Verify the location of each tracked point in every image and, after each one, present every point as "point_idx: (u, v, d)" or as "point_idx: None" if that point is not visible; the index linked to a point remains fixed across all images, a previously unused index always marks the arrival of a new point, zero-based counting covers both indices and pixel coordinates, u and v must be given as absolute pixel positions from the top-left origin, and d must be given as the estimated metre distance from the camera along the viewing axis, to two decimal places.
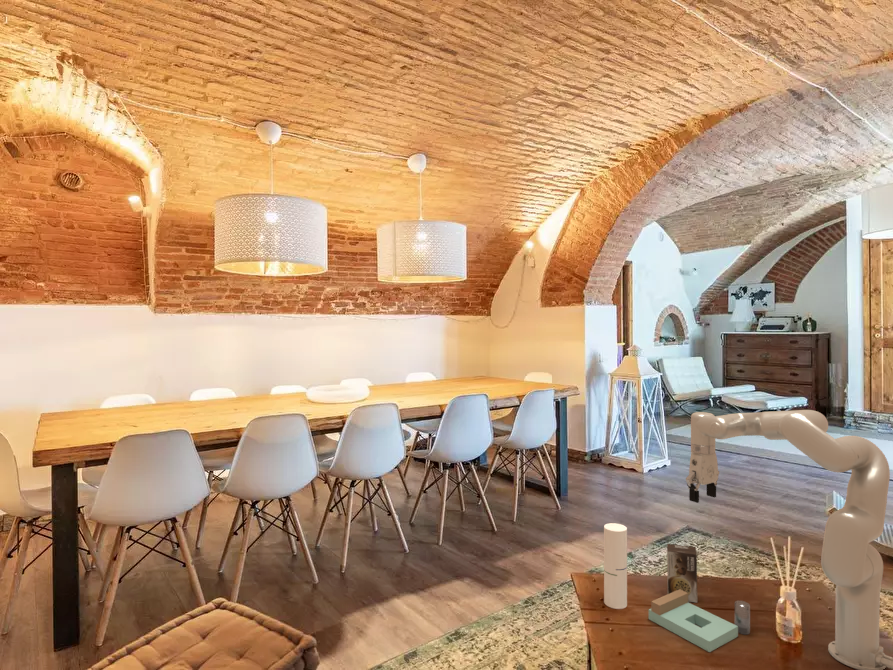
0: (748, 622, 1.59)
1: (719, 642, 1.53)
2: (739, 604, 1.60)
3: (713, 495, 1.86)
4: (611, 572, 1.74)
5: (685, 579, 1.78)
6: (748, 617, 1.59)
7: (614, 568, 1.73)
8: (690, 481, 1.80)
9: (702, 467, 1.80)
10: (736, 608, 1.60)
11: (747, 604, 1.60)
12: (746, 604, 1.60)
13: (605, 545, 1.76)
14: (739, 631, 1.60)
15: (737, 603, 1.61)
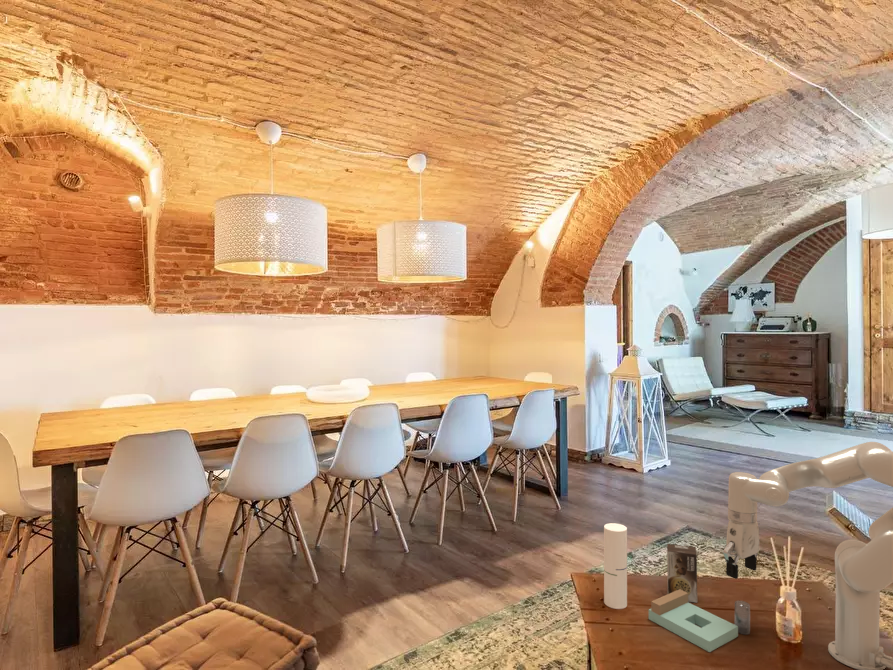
0: (748, 622, 1.59)
1: (719, 642, 1.53)
2: (739, 604, 1.60)
3: (753, 568, 1.62)
4: (611, 572, 1.74)
5: (685, 579, 1.78)
6: (748, 617, 1.59)
7: (614, 568, 1.73)
8: (728, 554, 1.56)
9: (742, 538, 1.56)
10: (736, 608, 1.60)
11: (747, 604, 1.60)
12: (746, 604, 1.60)
13: (605, 545, 1.76)
14: (739, 631, 1.60)
15: (737, 603, 1.61)
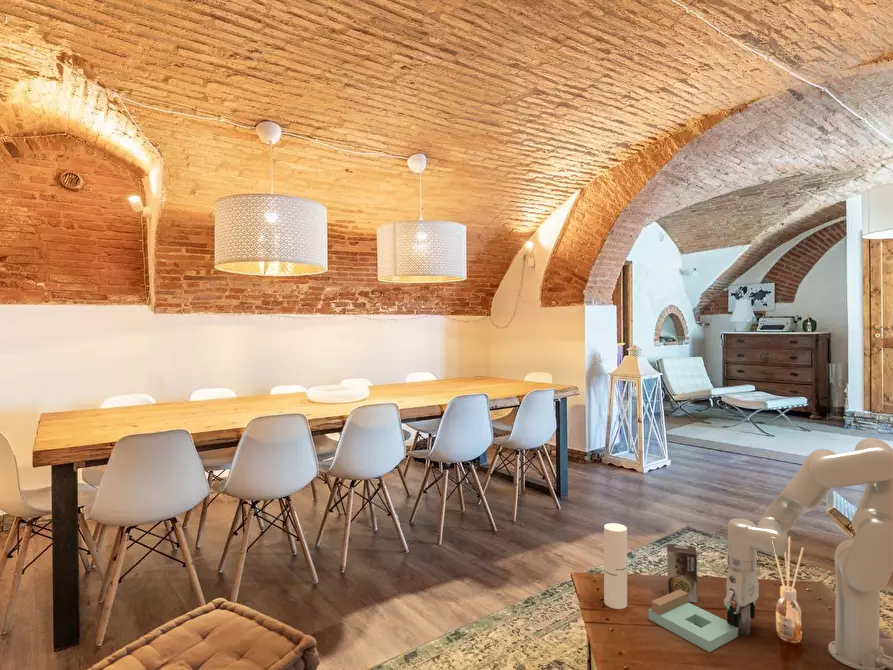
0: (748, 622, 1.59)
1: (719, 642, 1.53)
2: None
3: (751, 616, 1.62)
4: (611, 572, 1.74)
5: (685, 579, 1.78)
6: (748, 617, 1.59)
7: (614, 568, 1.73)
8: (729, 604, 1.56)
9: (742, 586, 1.56)
10: None
11: None
12: None
13: (605, 545, 1.76)
14: (739, 631, 1.60)
15: None
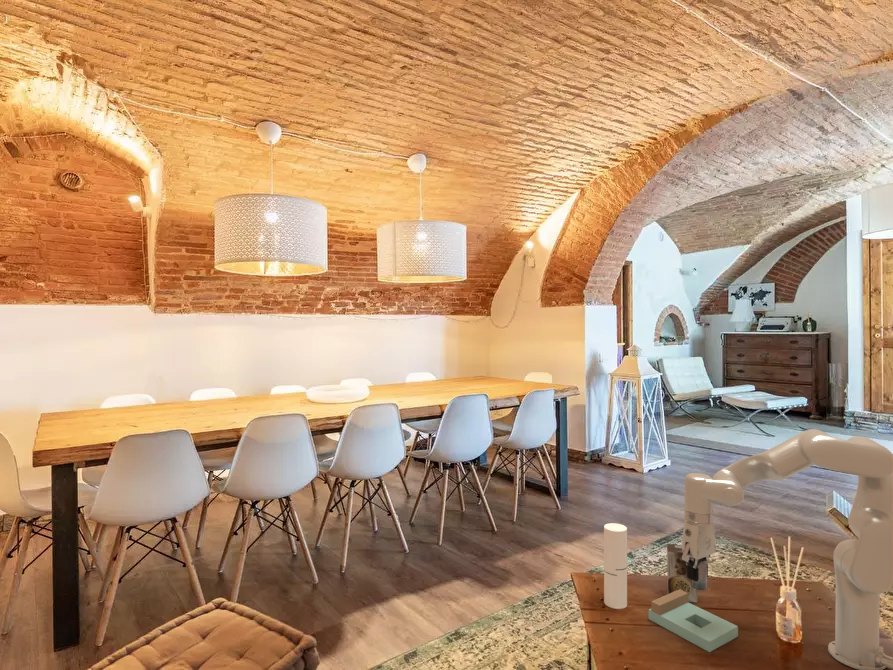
0: (705, 578, 1.58)
1: (719, 642, 1.53)
2: None
3: None
4: (611, 572, 1.74)
5: (685, 579, 1.78)
6: (705, 573, 1.58)
7: (614, 568, 1.73)
8: (687, 560, 1.57)
9: (697, 539, 1.56)
10: None
11: (704, 560, 1.60)
12: (703, 560, 1.60)
13: (605, 545, 1.76)
14: (696, 587, 1.59)
15: None
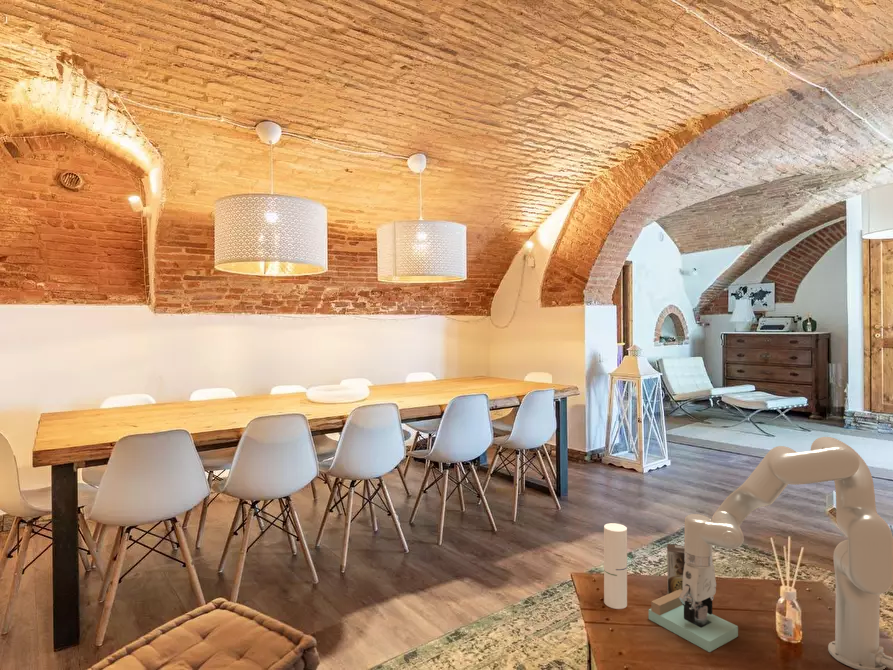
0: (705, 623, 1.59)
1: (719, 642, 1.53)
2: (697, 605, 1.60)
3: (709, 612, 1.62)
4: (611, 572, 1.74)
5: None
6: (705, 618, 1.59)
7: (614, 568, 1.73)
8: (684, 600, 1.56)
9: (697, 582, 1.56)
10: None
11: (704, 605, 1.60)
12: (703, 605, 1.60)
13: (605, 545, 1.76)
14: None
15: (695, 604, 1.61)
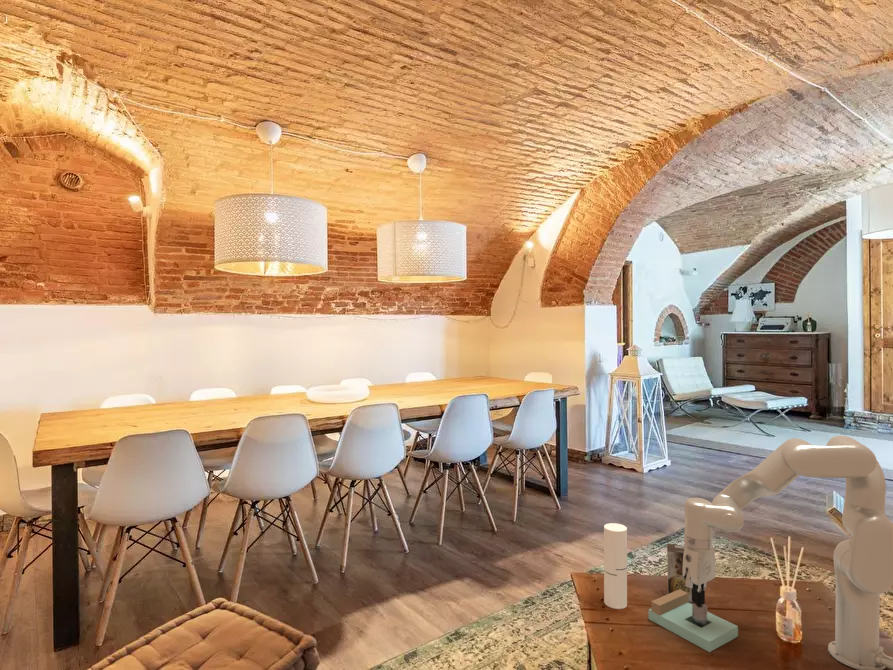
0: (705, 623, 1.59)
1: (719, 642, 1.53)
2: (696, 605, 1.60)
3: None
4: (611, 572, 1.74)
5: None
6: (705, 618, 1.59)
7: (614, 568, 1.73)
8: (691, 586, 1.58)
9: (697, 565, 1.56)
10: (694, 609, 1.60)
11: (704, 605, 1.60)
12: (703, 605, 1.60)
13: (605, 545, 1.76)
14: None
15: (695, 604, 1.61)
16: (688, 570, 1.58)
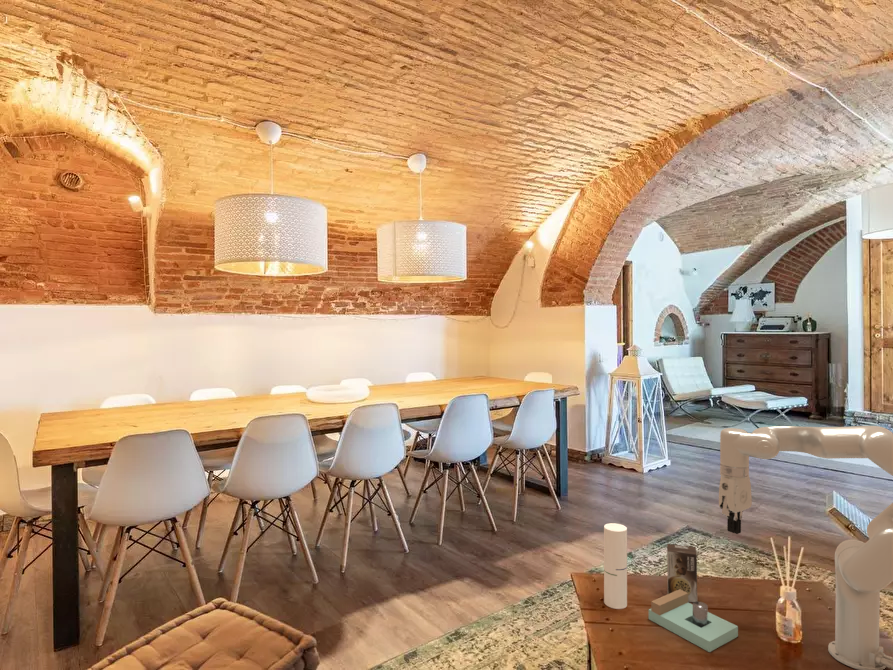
0: (705, 623, 1.59)
1: (719, 642, 1.53)
2: (697, 605, 1.60)
3: None
4: (611, 572, 1.74)
5: (685, 579, 1.78)
6: (705, 618, 1.59)
7: (614, 568, 1.73)
8: (728, 514, 1.58)
9: (734, 492, 1.57)
10: (694, 609, 1.60)
11: (705, 605, 1.60)
12: (704, 605, 1.60)
13: (605, 545, 1.76)
14: None
15: (695, 604, 1.61)
16: (724, 498, 1.59)
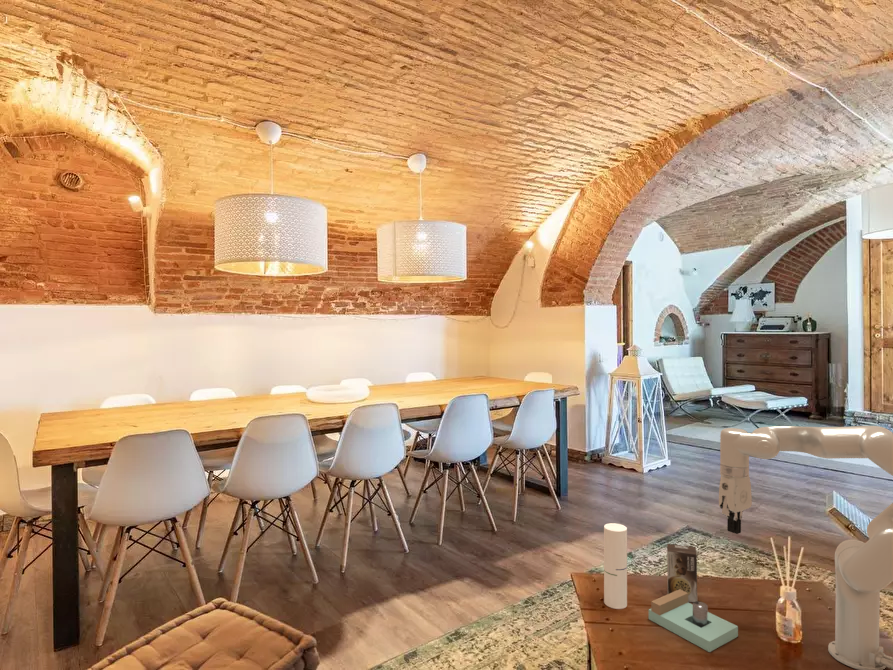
0: (705, 623, 1.59)
1: (719, 642, 1.53)
2: (697, 605, 1.60)
3: None
4: (611, 572, 1.74)
5: (685, 579, 1.78)
6: (705, 618, 1.59)
7: (614, 568, 1.73)
8: (728, 514, 1.58)
9: (734, 492, 1.57)
10: (694, 609, 1.60)
11: (705, 605, 1.60)
12: (704, 605, 1.60)
13: (605, 545, 1.76)
14: None
15: (695, 604, 1.61)
16: (725, 498, 1.59)
